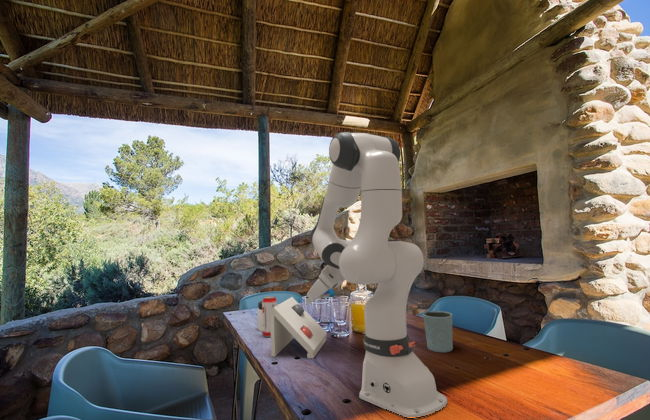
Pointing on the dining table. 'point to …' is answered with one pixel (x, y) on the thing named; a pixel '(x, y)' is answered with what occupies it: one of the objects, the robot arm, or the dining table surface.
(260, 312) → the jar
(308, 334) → the red button
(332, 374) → the dining table surface
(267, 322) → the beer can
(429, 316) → the grey green cup
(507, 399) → the dining table surface
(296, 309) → the charcoal button
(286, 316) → the console
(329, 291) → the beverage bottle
